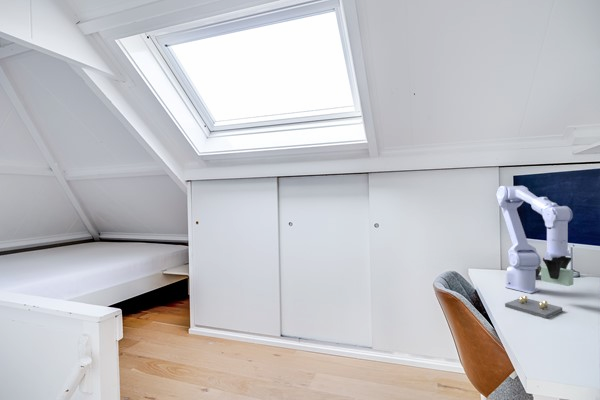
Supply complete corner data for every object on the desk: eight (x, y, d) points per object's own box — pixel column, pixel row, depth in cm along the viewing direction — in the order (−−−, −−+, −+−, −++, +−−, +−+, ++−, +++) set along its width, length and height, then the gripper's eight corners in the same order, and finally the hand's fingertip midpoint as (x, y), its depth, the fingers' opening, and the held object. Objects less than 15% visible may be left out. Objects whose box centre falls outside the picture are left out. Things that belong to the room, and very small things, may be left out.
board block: (541, 280, 113) (541, 267, 113) (546, 279, 115) (546, 265, 115) (568, 286, 106) (568, 271, 106) (573, 284, 108) (573, 270, 108)
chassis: (505, 306, 108) (505, 297, 108) (522, 300, 114) (522, 291, 114) (545, 318, 98) (545, 308, 98) (562, 310, 104) (562, 301, 104)
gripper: (561, 243, 103) (561, 283, 103) (579, 239, 110) (579, 277, 111) (537, 240, 109) (537, 278, 109) (555, 237, 116) (555, 272, 117)
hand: (556, 277), depth 110 cm, fingers closed on board block, 4 cm apart
